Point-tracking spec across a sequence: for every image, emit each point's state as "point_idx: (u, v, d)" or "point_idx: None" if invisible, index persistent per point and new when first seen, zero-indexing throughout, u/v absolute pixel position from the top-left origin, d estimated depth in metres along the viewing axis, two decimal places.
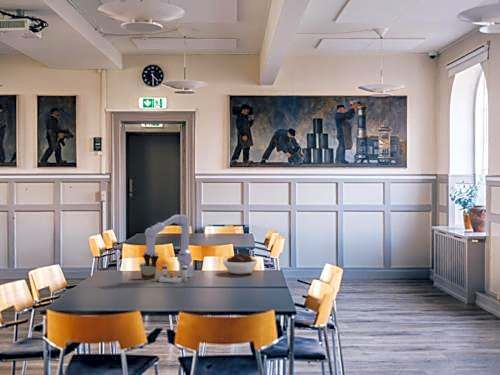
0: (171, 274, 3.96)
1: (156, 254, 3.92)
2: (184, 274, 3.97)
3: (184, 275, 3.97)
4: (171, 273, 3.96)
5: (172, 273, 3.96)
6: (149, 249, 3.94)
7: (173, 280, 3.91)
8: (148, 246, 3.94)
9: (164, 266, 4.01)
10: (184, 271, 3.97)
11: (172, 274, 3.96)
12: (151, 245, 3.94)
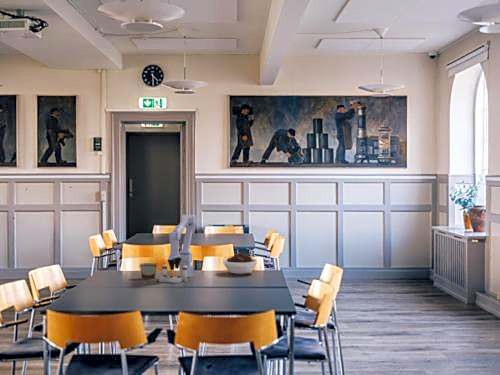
0: (171, 274, 3.96)
1: (169, 258, 3.93)
2: (184, 274, 3.97)
3: (184, 275, 3.97)
4: (171, 273, 3.96)
5: (172, 273, 3.96)
6: (170, 252, 3.99)
7: (173, 280, 3.91)
8: (170, 249, 4.00)
9: (164, 266, 4.01)
10: (184, 271, 3.97)
11: (172, 274, 3.96)
12: (177, 248, 3.99)
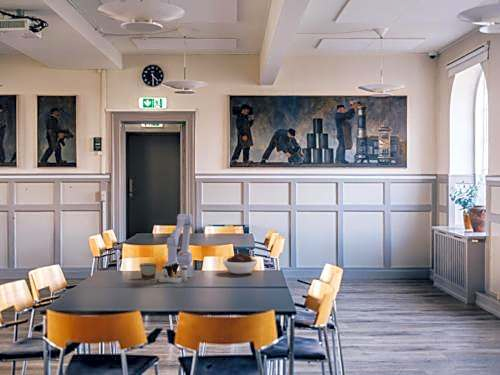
0: None
1: (167, 264, 3.90)
2: (184, 274, 3.97)
3: (184, 275, 3.97)
4: None
5: (172, 273, 3.96)
6: (168, 258, 3.96)
7: (173, 280, 3.91)
8: (168, 255, 3.96)
9: (164, 266, 4.01)
10: (184, 271, 3.97)
11: (172, 274, 3.96)
12: (175, 254, 3.95)
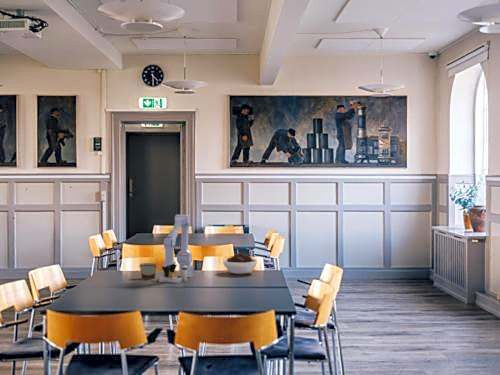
0: (170, 274, 3.95)
1: (164, 265, 3.86)
2: (184, 274, 3.97)
3: (184, 275, 3.97)
4: (170, 273, 3.95)
5: (171, 273, 3.95)
6: (165, 259, 3.92)
7: (173, 280, 3.91)
8: (165, 256, 3.92)
9: None
10: (184, 271, 3.97)
11: (171, 274, 3.95)
12: (172, 255, 3.91)
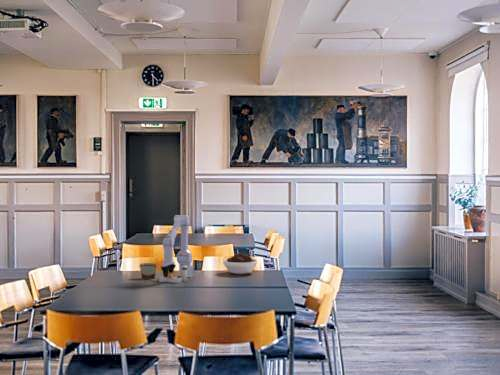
0: (169, 275, 3.93)
1: (163, 265, 3.84)
2: (184, 274, 3.97)
3: (184, 275, 3.97)
4: (169, 274, 3.93)
5: (170, 274, 3.93)
6: (164, 259, 3.90)
7: (173, 280, 3.91)
8: (164, 256, 3.91)
9: None
10: (184, 271, 3.97)
11: (170, 275, 3.93)
12: (171, 255, 3.89)
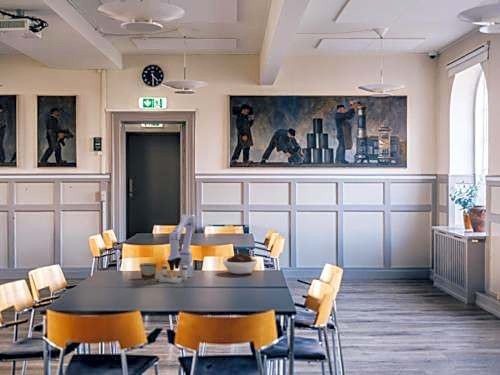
0: (169, 275, 3.93)
1: (169, 258, 3.93)
2: (184, 274, 3.97)
3: (184, 275, 3.97)
4: (169, 274, 3.93)
5: (170, 274, 3.93)
6: (170, 252, 3.99)
7: (173, 280, 3.91)
8: (170, 249, 4.00)
9: (164, 266, 4.01)
10: (184, 271, 3.97)
11: (170, 275, 3.93)
12: (177, 249, 3.98)
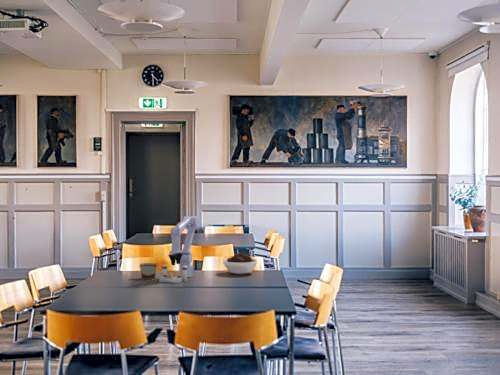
0: (169, 275, 3.93)
1: (171, 253, 3.95)
2: (184, 274, 3.97)
3: (184, 275, 3.97)
4: (169, 274, 3.93)
5: (170, 274, 3.93)
6: None
7: (173, 280, 3.91)
8: None
9: (164, 266, 4.01)
10: (184, 271, 3.97)
11: (170, 275, 3.93)
12: (178, 244, 4.00)
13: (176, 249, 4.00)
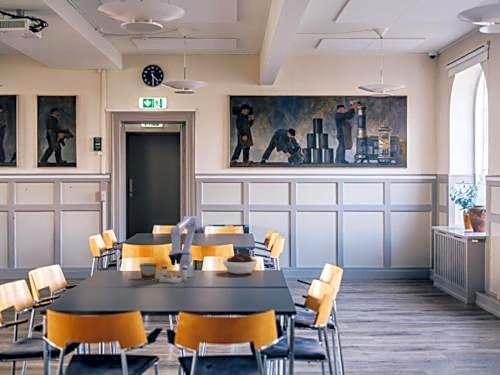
0: (169, 275, 3.93)
1: (171, 253, 3.95)
2: (184, 274, 3.97)
3: (184, 275, 3.97)
4: (169, 274, 3.93)
5: (170, 274, 3.93)
6: None
7: (173, 280, 3.91)
8: None
9: (164, 266, 4.01)
10: (184, 271, 3.97)
11: (170, 275, 3.93)
12: (178, 244, 4.00)
13: (176, 249, 4.00)
